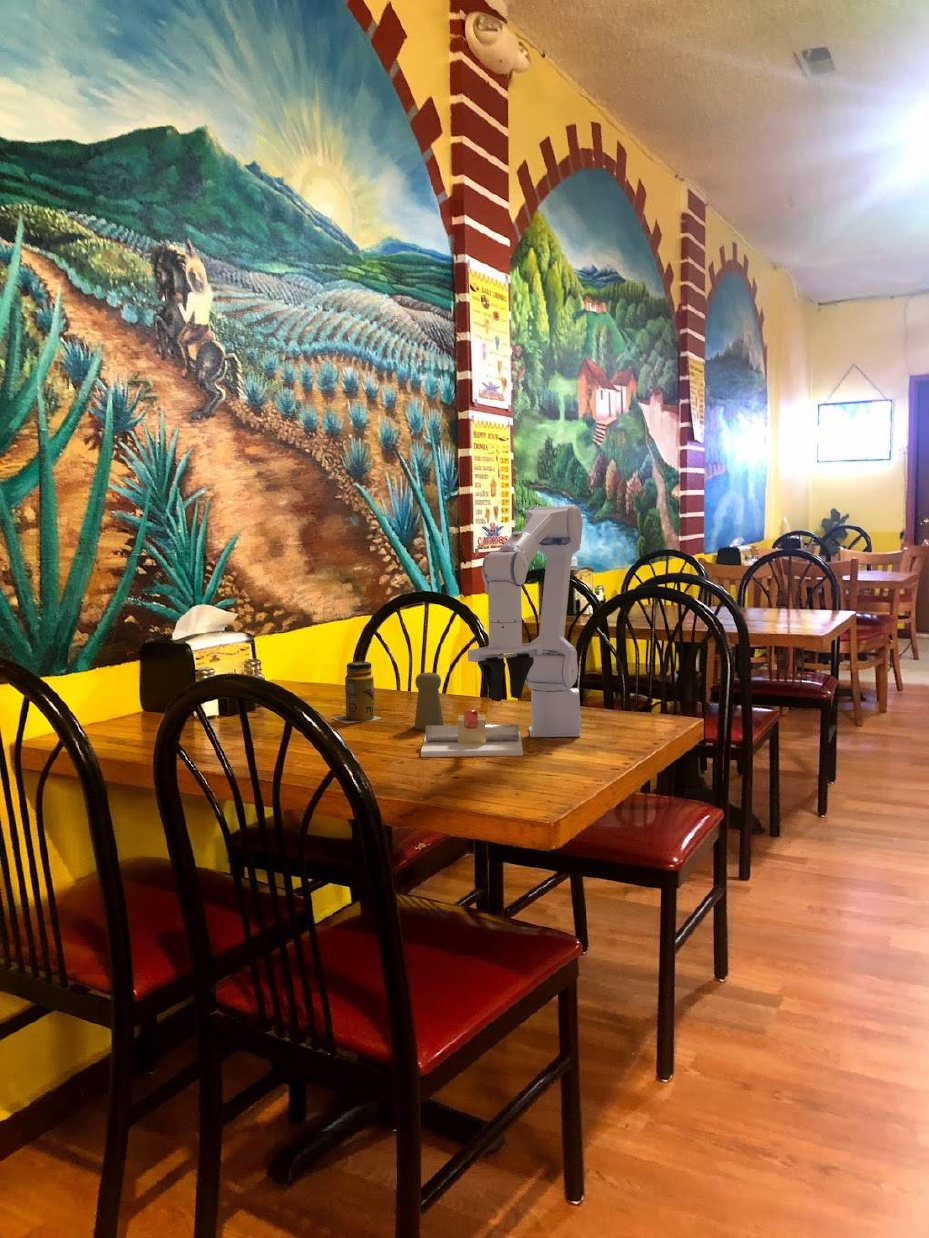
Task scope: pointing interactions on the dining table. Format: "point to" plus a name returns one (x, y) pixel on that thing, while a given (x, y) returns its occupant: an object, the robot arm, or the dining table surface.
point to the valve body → (472, 732)
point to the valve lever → (470, 718)
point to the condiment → (359, 693)
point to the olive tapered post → (428, 701)
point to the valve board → (472, 749)
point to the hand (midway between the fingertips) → (506, 699)
